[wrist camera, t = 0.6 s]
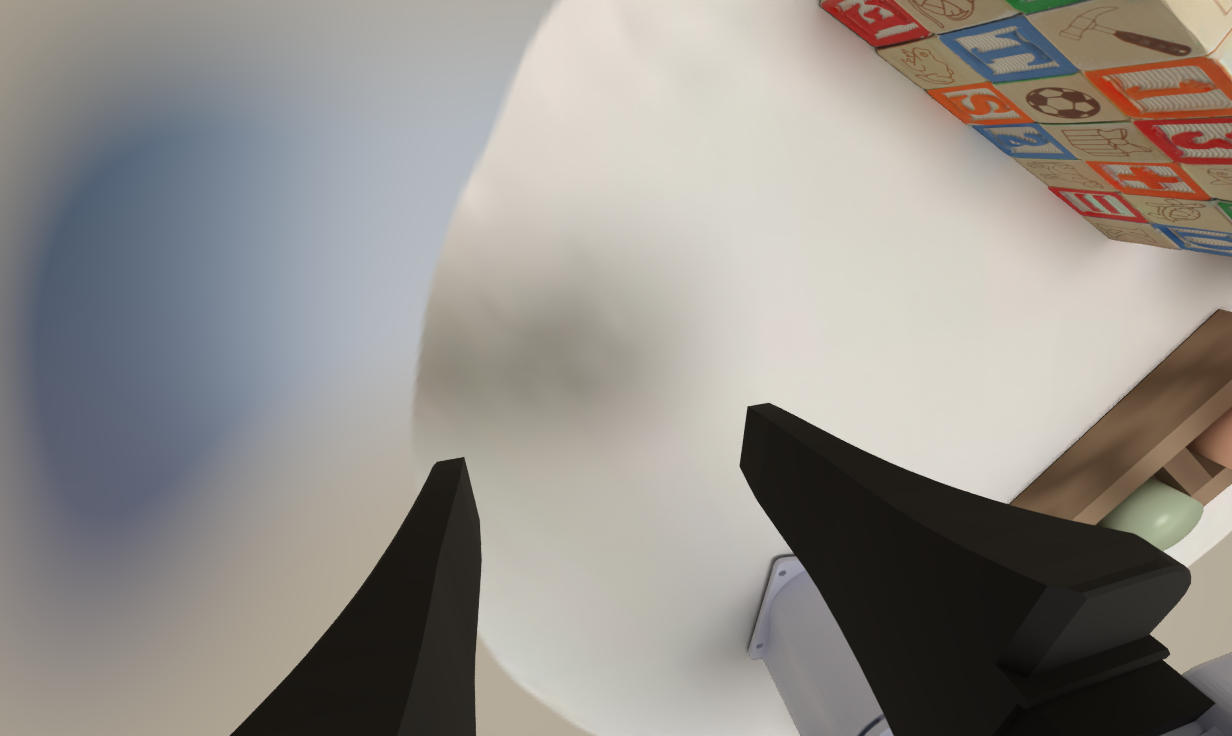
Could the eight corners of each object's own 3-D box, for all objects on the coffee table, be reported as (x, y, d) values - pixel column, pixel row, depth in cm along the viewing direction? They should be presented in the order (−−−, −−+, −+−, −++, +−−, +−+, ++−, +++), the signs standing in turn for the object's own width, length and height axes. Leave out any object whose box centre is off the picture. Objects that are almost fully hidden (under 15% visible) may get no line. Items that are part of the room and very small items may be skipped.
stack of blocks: (809, 9, 18) (1298, -217, 7) (912, -196, 16) (1850, -1000, 5) (1110, 241, 25) (1579, 315, 14) (1206, 121, 23) (1839, 97, 12)
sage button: (1103, 530, 33) (1153, 562, 31) (1077, 509, 32) (1128, 542, 29) (1156, 485, 32) (1212, 514, 30) (1132, 461, 31) (1189, 490, 28)
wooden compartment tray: (997, 610, 38) (1033, 645, 36) (930, 577, 34) (966, 613, 32) (1263, 381, 32) (1331, 402, 30) (1219, 309, 28) (1292, 326, 26)
